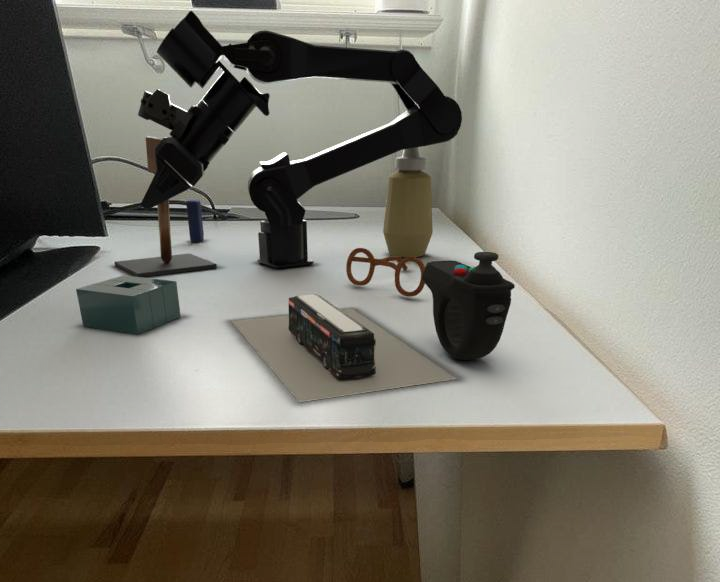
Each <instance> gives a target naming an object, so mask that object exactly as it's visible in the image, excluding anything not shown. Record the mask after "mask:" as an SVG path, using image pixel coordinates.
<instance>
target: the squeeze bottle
mask: <svg viewBox="0 0 720 582" xmlns="http://www.w3.org/2000/svg"><path fill="white" fill-rule="evenodd" d="M426 160H427V159H426V157H422V156H420V153H419V147H416V148H409V149H403V151H402V155H401V156H399V157H398V156H397V157H395V165H394V166H395V167H394V168H395V170H396V171H394V172H392V173H391V174H390V175H389V176H388V184H387V193H386V201H385V208H384V209H385V211H384V217H383V228H382V232H383V233H382V234H383V237H384V241H385V243H386V247H387V251H388V255H390V256H399V257H400V258H402V259H403V258H406V257H415V258H419V257H423V256H425V255H426V252H427V249H428V248H429V243H430V241H431V239H432V236H433V232H434V231H433V229H434V228H433V203H432V202H433V201H432V181H431V180H432V177H431V176H430V174H428V173H427V172H424V171H425V170H426Z"/></svg>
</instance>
